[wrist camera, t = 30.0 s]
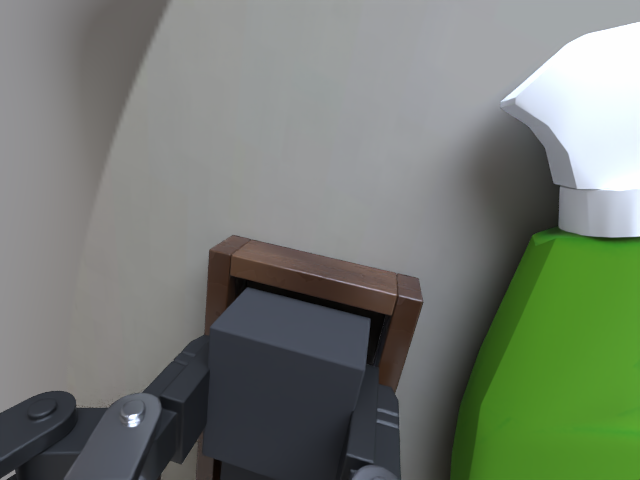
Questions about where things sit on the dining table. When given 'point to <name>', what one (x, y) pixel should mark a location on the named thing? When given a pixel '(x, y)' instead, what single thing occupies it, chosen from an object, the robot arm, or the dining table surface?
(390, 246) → the dining table surface
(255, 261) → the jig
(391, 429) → the robot arm
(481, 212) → the dining table surface
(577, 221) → the spray bottle
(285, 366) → the pad
